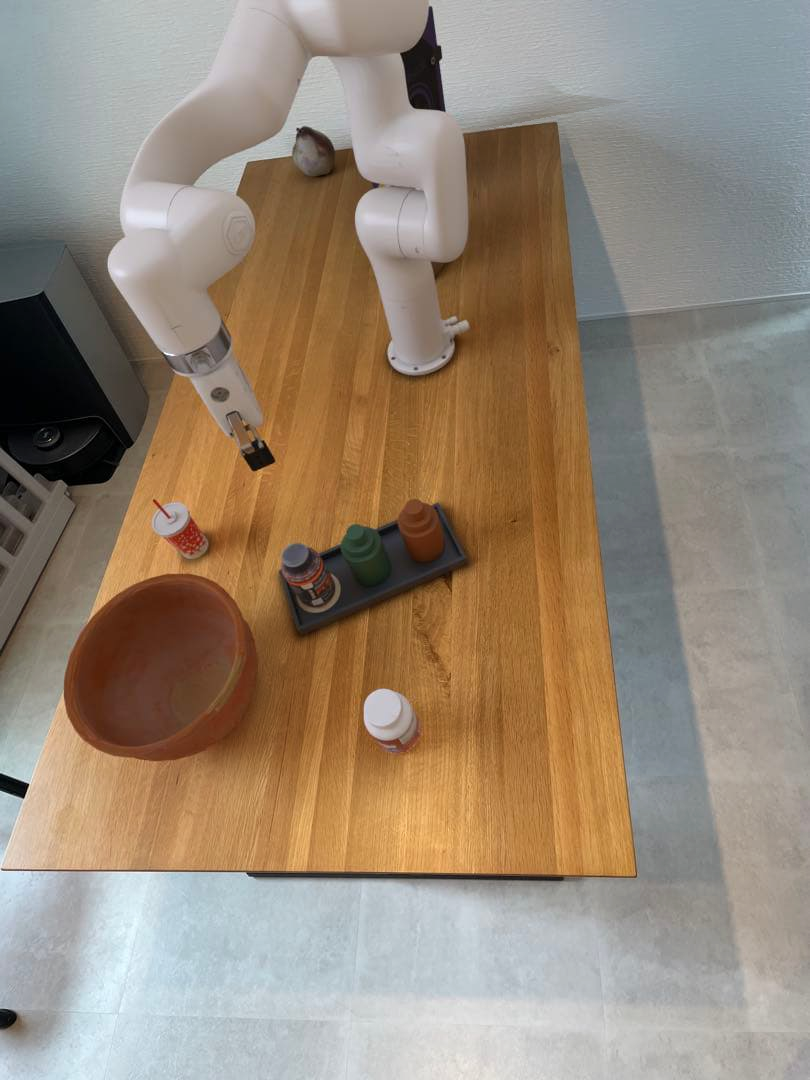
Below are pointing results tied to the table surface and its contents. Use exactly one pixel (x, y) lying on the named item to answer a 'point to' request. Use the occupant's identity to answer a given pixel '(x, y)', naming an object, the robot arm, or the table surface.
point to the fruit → (313, 152)
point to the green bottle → (366, 555)
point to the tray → (400, 579)
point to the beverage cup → (179, 529)
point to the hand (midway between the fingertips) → (254, 439)
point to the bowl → (161, 670)
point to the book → (424, 71)
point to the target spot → (327, 605)
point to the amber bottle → (421, 531)
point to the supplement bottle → (307, 575)
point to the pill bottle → (391, 721)
